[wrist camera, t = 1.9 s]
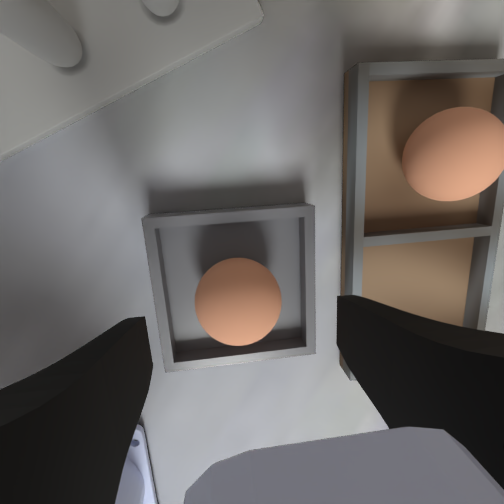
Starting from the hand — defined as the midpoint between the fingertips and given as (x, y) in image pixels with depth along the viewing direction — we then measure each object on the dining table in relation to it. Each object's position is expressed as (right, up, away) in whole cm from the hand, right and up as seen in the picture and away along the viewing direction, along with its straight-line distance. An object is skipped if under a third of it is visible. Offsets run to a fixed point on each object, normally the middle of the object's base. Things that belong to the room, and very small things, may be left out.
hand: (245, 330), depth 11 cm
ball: (+9, +8, +4) cm, 13 cm away
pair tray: (+9, +4, +6) cm, 11 cm away
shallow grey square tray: (-1, +1, +5) cm, 5 cm away
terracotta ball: (-1, +1, +5) cm, 5 cm away
